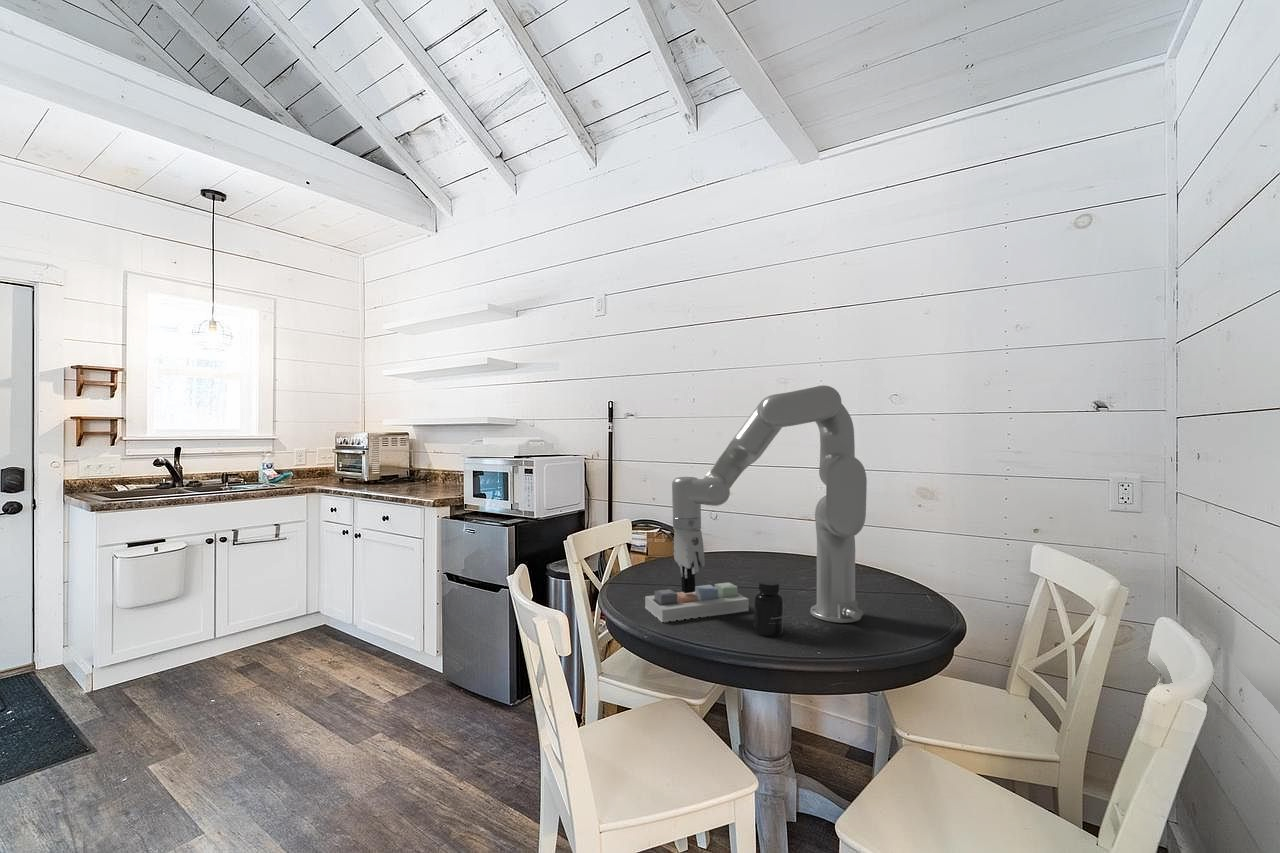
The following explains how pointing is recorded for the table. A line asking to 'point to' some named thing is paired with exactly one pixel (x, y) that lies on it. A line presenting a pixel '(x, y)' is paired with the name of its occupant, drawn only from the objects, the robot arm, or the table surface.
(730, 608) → the keypad
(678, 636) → the table surface
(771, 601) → the supplement bottle
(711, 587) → the key slate
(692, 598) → the key terracotta
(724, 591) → the key sage
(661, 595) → the key charcoal
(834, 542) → the robot arm
